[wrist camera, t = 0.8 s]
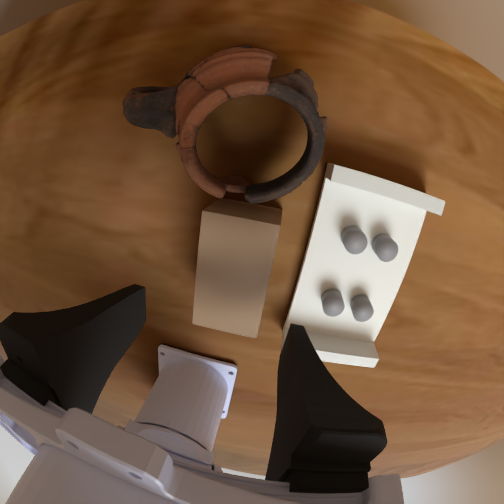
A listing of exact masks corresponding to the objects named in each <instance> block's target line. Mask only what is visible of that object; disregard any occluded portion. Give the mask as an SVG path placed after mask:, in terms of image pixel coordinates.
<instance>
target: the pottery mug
mask: <svg viewBox="0 0 504 504" xmlns="http://www.w3.org/2000/svg"><path fill="white" fill-rule="evenodd" d="M277 59H278V56H277V55H275V54H274V53H271V52H269V51H267V50H263V49H258V48H253V47H251V46H236V47H231V48H228V49H225V50H222V51H219V52H216V53H214V54H213V55H211V56H209V57H207V58H206V59H204V60H202V61H201V62H199V63H198V64H197V65H195V66H194V67H193V68H192V69H191V70H190V71H189V72H188V73H187V74H186V77H185V78H184V79H183V80H182V81H181V83H180V84H179V85H177V86H173V87H155V86H148V87H137V88H133V89H131V90H130V91H129V93H128V94H127V95H126V96H125V99H124V100H123V108H124V109H123V114H124V116H125V117H126V119H127V120H128V122H129V123H131V124H132V125H134V126H138V127H142V128H149V129H156V130H159V131H161V132H163V133H164V134H165V135H166V136H167V137H168V138H174V137H175V136H176V134H177V135H179V138H180V140H179V142H178V143H177V144H176V148H177V150H178V152H179V154H180V156H181V160H182V162H183V165H184V167H185V170H186V172H187V173H188V175H189V177H190V178H191V179H192V180H193V181H194V182H195V183H196V185H197V186H199V187H200V188H201V189H202V190H203V191H205V192H207V193H209V194H211V195H212V196H215V197H217V198H223V196H224V194H225V192H226V191H228V192H232V193H245V194H244V196H245V199H246V200H248V201H249V202H250V203H261V202H266V201H270V200H273V199H276V198H279V197H282V196H284V195H286V194H288V193H290V192H292V191H293V190H294V189H296V188H297V187H298V186H300V185H301V184H302V182H303V181H305V180H306V179H307V178H308V177H309V176H310V175H311V174H313V172H314V170H315V168H316V167H317V165H318V163H319V162H320V160H321V157H322V154H323V151H324V144H325V142H324V140H325V132H326V128H327V117H319V113H318V112H317V107H318V97H317V94H316V92H315V90H314V88H313V80H312V79H311V78H310V77H309V76H308V75H307V74H306V73H305V72H304V71H303V70H301V69H296V70H295V71H294V73H290V74H287V75H284V76H280V77H275V78H269V74H270V70H271V64H272V61H277ZM248 95H263V96H267V95H269V96H273V97H275V98H278V99H281V100H283V101H285V102H287V103H288V104H290V105H291V106H292V107H294V108H295V109H296V110H297V111H298V113H299V114H300V115H301V116H302V118H303V119H304V122H305V124H306V126H307V131H308V140H307V146H306V149H305V151H304V154H303V156H302V157H301V159H300V160H299V161H298V163H297V164H296V165H295V166H294V167H293V168H292V169H290V170H289V171H288V172H286V173H285V174H284V175H282V176H280V177H278V178H276V179H274V180H272V181H269V182H266V183H261V184H250V183H249V182H248V181H247V180H246V179H245V178H244V177H242V176H225V177H222V178H221V179H218V178H216V177H215V176H213V175H212V174H211V173H209V172H208V171H207V170H206V169H205V168H204V167H203V165H202V164H201V162H200V160H199V158H198V156H197V151H196V143H195V142H196V136H197V133H198V130H199V128H200V126H201V124H202V122H203V121H204V120H205V118H206V117H207V116H208V115H209V114H210V113H211V112H212V111H213V110H214V109H215V108H217V107H218V106H220V105H221V104H223V103H225V102H227V101H229V100H231V99H235V98H239V97H242V96H248Z"/></svg>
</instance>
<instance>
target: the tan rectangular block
mask: <svg viewBox="0 0 504 504" xmlns="http://www.w3.org/2000/svg"><path fill="white" fill-rule="evenodd" d="M281 218H282V209H279V208H274V207H269V206H264V205H259V204H253V203H248V202H242V201H237V200H231V199H226V198H219V199H218V200H216V201H215V202H213V203H212V204H211V205H209V206H208V207H207V208H205V209H204V210H203V211H202V218H201V227H200V236H199V246H198V257H197V268H196V280H195V293H194V308H193V324H195V325H199V326H203V327H208V328H212V329H216V330H220V331H224V332H229V333H233V334H238V335H243V336H247V337H252V338H256V337H257V333H258V328H259V324H260V319H261V315H262V310H263V306H264V301H265V297H266V292H267V288H268V283H269V278H270V274H271V269H272V264H273V260H274V255H275V250H276V245H277V240H278V236H279V231H280V226H281Z"/></svg>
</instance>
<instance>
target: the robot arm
mask: <svg viewBox="0 0 504 504" xmlns="http://www.w3.org/2000/svg"><path fill="white" fill-rule="evenodd" d="M145 321H146V302H145V287H143V286H139V285H136V284H134V285H131V286H128V287H126V288H123V289H121V290H118V291H116V292H114V293H111V294H109V295H107V296H104V297H102V298H99V299H96V300H94V301H91V302H88V303H85V304H82V305H79V306H75V307H71V308H67V309H61V310H56V311H49V312H38V313H19V312H13V313H12V314H11V315H9V316H8V317H7V318H6V319H5V320H3V321H2V322H1V323H0V340H1V343H2V345H3V348H4V350H5V352H6V354H7V357H8V359H7V360H6V361H4V360H3V359H2V357H1V356H0V425H1V426H3V427H4V428H5V429H6V430H7V431H8V432H9V433H10V434H11V435H12V436H13V437H14V438H15V439H17V440H18V441H19V442H20V443H21V444H22V445H23V446H25V447H26V448H27V449H28V450H29V451H30V452H32V453H33V454H34V455H35V456H34V458H33V460H32V461H31V463H30V464H29V466H28V467H27V469H26V470H25V472H24V474H23V475H22V477H21V478H20V480H19V482H18V483H17V485H16V487H15V488H14V490H13V492H12V493H11V495H10V497H9V498H8V500H7V502H6V504H404V500H403V492H402V486H401V480H400V474H388V475H378V476H373V477H370V478H368V472H369V471H370V469H371V466H370V462H371V461H372V460H373V459H374V458H375V457H376V456H377V455H378V454H380V453H381V452H382V450H383V449H384V448H385V447H386V444H387V438H386V433H385V429H384V425H383V422H382V421H381V420H380V419H378V418H377V417H375V416H374V415H372V414H371V413H370V412H368V411H367V410H365V409H364V408H363V407H362V406H360V405H359V404H358V403H357V402H356V401H355V400H353V399H352V398H351V397H350V396H349V395H348V394H347V393H346V392H345V391H344V390H343V389H342V388H341V386H340V385H339V384H338V383H337V382H336V381H335V379H334V378H333V377H332V376H331V374H330V373H329V372H328V370H327V369H326V367H325V366H324V364H323V362H322V361H321V359H320V357H319V356H318V354H317V352H316V350H315V348H314V346H313V344H312V342H311V340H310V338H309V336H308V334H307V332H306V330H305V328H304V326H302V325H297V324H292V323H291V324H290V327H289V330H288V333H287V336H286V339H285V342H284V345H283V348H282V351H281V354H280V360H279V366H278V380H277V416H276V424H275V430H274V437H273V442H272V448H271V454H270V459H269V464H268V469H267V473H266V478H265V480H262V479H255V478H248V477H243V476H237V475H232V474H228V473H223V471H222V470H221V467H220V466H219V465H217V464H213V461H214V457H215V453H213V452H212V449H213V445H214V442H215V438H216V434H217V431H218V427H219V424H220V420H221V418H226V416H227V412H228V408H229V403H230V399H231V395H232V390H233V386H234V382H235V378H236V373H237V369H238V368H237V366H236V365H234V364H231V363H227V362H223V361H219V360H215V359H211V358H207V357H203V356H200V355H196V354H193V353H189V352H186V351H182V350H179V349H176V348H172V347H169V346H166V345H160V346H159V347H158V362H159V376H158V378H157V380H156V382H155V384H154V385H153V387H152V389H151V391H150V393H149V395H148V397H147V398H146V400H145V402H144V404H143V406H142V408H141V410H140V412H139V413H138V415H137V417H136V419H135V421H132V420H129V422H128V424H127V426H126V428H123V427H121V426H115V425H113V424H111V423H109V422H106V421H104V420H102V419H100V418H98V417H96V416H94V415H92V412H93V409H94V407H95V405H96V402H97V400H98V398H99V395H100V393H101V391H102V389H103V387H104V385H105V383H106V381H107V379H108V378H109V376H110V374H111V372H112V370H113V369H114V367H115V366H116V364H117V363H118V361H119V360H120V359H121V357H122V356H123V355H124V353H125V352H126V351H127V349H128V348H129V347H130V345H131V344H132V343H133V341H134V340H135V338H136V337H137V336H138V334H139V332H140V330H141V329H142V327H143V325H144V323H145ZM162 352H163V353H162Z"/></svg>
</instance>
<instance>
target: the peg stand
mask: <svg viewBox="0 0 504 504" xmlns="http://www.w3.org/2000/svg"><path fill="white" fill-rule="evenodd" d="M444 205H445V201H443V200H441V199H439V198H436V197H434V196H431V195H429V194H426V193H424V192H421V191H418V190H416V189H413V188H410V187H407V186H404V185H401V184H399V183H396V182H393V181H390V180H387V179H383V178H380V177H377V176H374V175H371V174H367V173H364V172H361V171H357V170H354V169H350V168H347V167H343V166H340V165H336V164H332V163H327V167H326V172H325V176H324V181H323V185H322V189H321V193H320V197H319V202H318V206H317V210H316V214H315V218H314V222H313V226H312V229H311V233H310V237H309V241H308V245H307V248H306V252H305V256H304V259H303V263H302V267H301V270H300V274H299V277H298V281H297V284H296V288H295V291H294V294H293V298H292V301H291V305H290V308H289V311H288V314H287V318H286V321H285V324H284V327H283V331H282V345H281V351H282V348H283V345H284V342H285V339H286V336H287V333H288V330H289V327H290V324H291V323H292V324H297V325H302V326H304V328H305V330H306V332H307V334H308V336H309V338H310V340H311V342H312V344H313V346H314V348H315V350H316V352H317V354H318V356H319V357H320V359H321V361H326V362H333V363H340V364H347V365H355V366H363V367H372V368H374V367H375V365H376V364H377V362H378V360H379V357H378V354H377V351H376V348H375V345H374V341H375V339H376V337H377V335H378V333H379V331H380V329H381V327H382V325H383V323H384V321H385V319H386V316H387V314H388V312H389V310H390V308H391V306H392V303H393V301H394V299H395V297H396V294H397V292H398V290H399V287H400V285H401V282H402V280H403V277H404V275H405V272H406V270H407V267H408V265H409V262H410V259H411V257H412V254H413V251H414V248H415V246H416V243H417V240H418V237H419V234H420V231H421V228H422V224H423V221H424V218H425V215H426V211H430V212H433V213H435V214H438V215H442V212H443V208H444Z"/></svg>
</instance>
